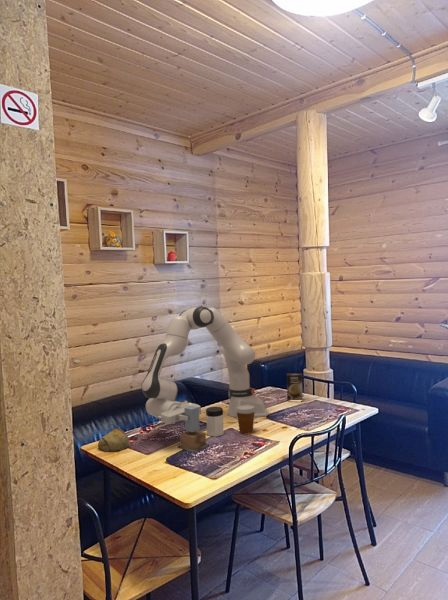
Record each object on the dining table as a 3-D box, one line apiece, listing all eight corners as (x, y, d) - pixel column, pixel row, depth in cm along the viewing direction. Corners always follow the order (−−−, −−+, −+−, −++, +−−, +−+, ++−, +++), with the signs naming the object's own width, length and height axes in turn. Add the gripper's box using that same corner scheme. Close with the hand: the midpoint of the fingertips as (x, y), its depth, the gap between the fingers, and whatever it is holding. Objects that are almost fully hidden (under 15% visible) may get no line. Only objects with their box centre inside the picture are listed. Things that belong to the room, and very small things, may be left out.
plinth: (193, 440, 203) (192, 427, 203) (209, 445, 197) (208, 432, 196) (177, 447, 196) (176, 434, 196) (193, 452, 189) (192, 438, 189)
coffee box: (287, 402, 262) (286, 375, 261) (287, 399, 268) (286, 372, 267) (302, 402, 260) (302, 375, 259) (302, 399, 266) (302, 372, 266)
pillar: (192, 427, 199) (191, 405, 199) (199, 429, 196) (198, 407, 196) (185, 430, 196) (184, 407, 195) (192, 432, 193) (191, 409, 192)
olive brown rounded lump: (135, 443, 204) (134, 426, 203) (122, 453, 192) (121, 435, 191) (107, 441, 207) (106, 424, 207) (93, 451, 195) (92, 433, 195)
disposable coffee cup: (232, 432, 213) (231, 407, 213) (245, 426, 220) (244, 403, 219) (247, 436, 207) (246, 411, 206) (260, 430, 213) (259, 406, 213)
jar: (211, 438, 206) (210, 412, 205) (202, 433, 213) (201, 408, 212) (227, 433, 211) (226, 409, 210) (218, 429, 218) (217, 405, 217)
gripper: (154, 410, 196) (175, 415, 187) (187, 399, 212) (208, 404, 202) (155, 424, 197) (176, 430, 187) (188, 412, 212) (209, 417, 203)
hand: (193, 416), depth 195 cm, fingers closed on pillar, 4 cm apart
